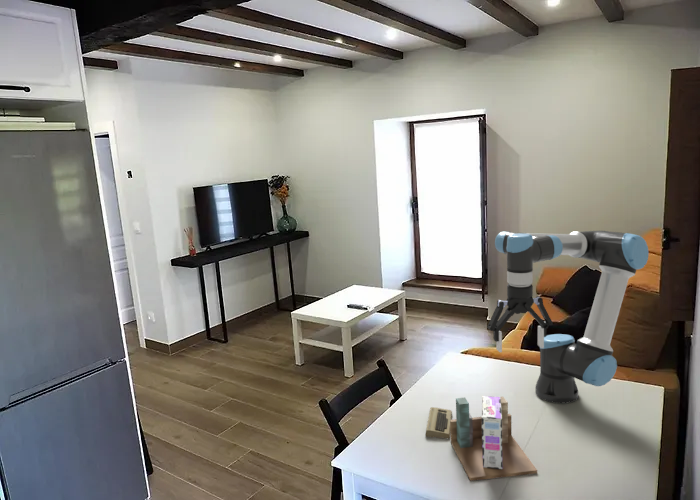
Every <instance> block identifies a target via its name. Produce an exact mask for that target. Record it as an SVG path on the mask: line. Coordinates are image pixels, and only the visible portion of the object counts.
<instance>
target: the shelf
mask: <svg viewBox="0 0 700 500" xmlns="http://www.w3.org/2000/svg"><path fill="white" fill-rule="evenodd" d="M500 397H501V409H502V459H503V469H494V468H485V467H483V453H482V416H475V417H474V416H473V417H472V415H471V413H470V404H469V403H470V402H469V401H468V400H467V398H466V397H457V398H455V418H456V419H455V418H454V419H452V420H450V443H451V445H452V447H453V450H454V452H455V454H456V456H457V458H458V460H459V461H460V464H461V466H462V467H463V470H464V472H465V474H466V476H467V477H468V479H469V481H471V482H472V481H473V482H474V481H481V480H488V479H489V480H491V479H498V478H499V479H500V478H508V477H516V476H523V475H524V476H525V475H526V476H527V475H534V474H538V469H537V468H536V466H535V465H534V464H533V462H532V461H531V460H530V459H529V456H527V454H526V453H525V451H524V449H522V447H521V446H520V444H519V443H518V442H517V441H516V439H515V438H514V436H512V415H511V413H509V402H508V401H507V399H506V398H505V397H504V396H500Z"/></svg>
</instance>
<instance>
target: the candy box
mask: <svg viewBox="0 0 700 500" xmlns="http://www.w3.org/2000/svg"><path fill="white" fill-rule="evenodd" d="M501 397H502V396H487V395H482V396H481V399H482V403H481V417H482V453H483V467H485V468H494V469H503V459H502V409H501Z"/></svg>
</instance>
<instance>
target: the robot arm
mask: <svg viewBox="0 0 700 500" xmlns="http://www.w3.org/2000/svg"><path fill="white" fill-rule="evenodd" d="M494 240H495V241H494V247H495V249H496V251H497V252H499V253H502V254H504V255H506V270H507V271H506V282H507V285H506V292H507V293H506V296H507V297H506V300H501V299H497V300H496V307H495V308H494V311H493V312H492V316H491V318H489V321H488V324H487V329H488V330H489V331H490V332H493V333H492V334H493V335H492V336H493V341H495V343H496V344H495V345H496V347H495V348H496V350H497V352H499V353H502V352H503V333H502V331H501V330H502V328H503V327H504V326H505V325H506V324H507V322H508V320H510V318H511V317H513V316H514V315H515V314H516V315H519V314H527V313H529V314H530V315H531V316H532V317H533V319H534V320H535V321H537V322H538V324H539V325H537V346H538V347H539V356H540V358H539V362H540V363H539V367H540V372H539V376H538V378H537V381H536V384H535V395H536V396H537V397H538V398H540V399H542V400H543V401H546V402H549V403H554V404H570V403H573V402H575V401H577V400H578V398H579V389H578V386H577V383H576V381H575V379H577V380H579V381H582V382H583V383H585V384H588V385H591V386H595V387H602V386H605V385H606V384H608V383H609V382H611V380H612V379H613V378H614V376H615V374H616V372H617V368H618V364H617V359H616V358H615V357H614V356H613V353H614V350H613V348H612V346H611V342H612V340H613V339H612V338H613V335H614V331H615V328H616V325H617V321H618V318H619V315H620V310H621V307H622V303H623V300H624V296H625V293H626V289H627V286H628V282H629V279H630V278H632V277H635V276H636V273H637V270H642V269H643V268H644V267H645V266H646V265H647V263H648V260H649V247H648V244H647V241H646V239H645V238H643V236H641V235H638V234H634V233H629V232H618V231H608V230H607V231H606V230H587V231H572V232H570V233H539V232H538V233H537V232H533V233H532V232H511V231H500V232H499V233H498V234H497V235H496V236H495V239H494ZM561 255H562V256H569V257H570V258H573V259H574V258H575V259H582V260H583V259H584V260H589V261H591V262H597V263H599V264H598V268H599V270H600V271H601V275H600V277H599V282H598V285H597V288H596V291H595V296H594V298H593V299H594V300H593V303H592V306H591V309H590V313H589V317H588V320H587V324H586V327H585V330H584V333H583V334H584V335H583V337H580V338H579V339H577V341H576V340H575V338H574V336H573V335H570V334H565V333H564V334H562V333H554V334H547V329H549V326H553V325H554V324H553V321H552V318H551V317H550V315H549V313H548V311H547V309H546V307H545V305H544V301H543V298H542V297H541V296H538V295H536V296H535V297H533V296H534V294H533V293H534V292H533V291H534V287H533V286H534V285H533V281H534V280H533V277H534V275H533V274H534V272H533V271H534V268H533V267H534V263H539V262H544V261H552V260H553V259H556V258H558V257H560V256H561ZM533 304H535V305H536V306H537V308H538V310H539V312H540V314H541V316H542V318H541V317H540V316H539V314H537V313H536V311H535V310H534V309H533V308H532V306H533ZM506 306H507V307H506ZM505 307H506V308H505ZM504 308H505V311H504ZM503 311H504V313H503ZM502 313H503V314H502ZM575 341H576V343H575Z"/></svg>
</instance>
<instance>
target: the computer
mask: <svg viewBox="0 0 700 500" xmlns="http://www.w3.org/2000/svg"><path fill="white" fill-rule="evenodd" d="M452 418H453V411H452V410H450V409H447V408H440V407H433V406H432V407H430V409H429V413H428V419H427V424H426V429H425V437H426V438H434V437H436V439H437V438H438V439H447V438H448V439H450V438H451V433H450V420H453V419H452Z"/></svg>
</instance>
